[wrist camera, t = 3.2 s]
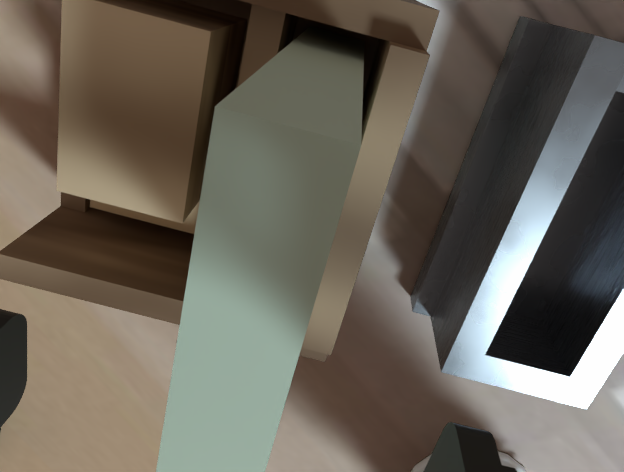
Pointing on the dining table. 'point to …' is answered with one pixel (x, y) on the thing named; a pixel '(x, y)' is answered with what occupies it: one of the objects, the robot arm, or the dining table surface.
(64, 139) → the offcut upper
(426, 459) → the decorative candle
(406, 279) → the dining table surface
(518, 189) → the stand
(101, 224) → the rack
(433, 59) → the dining table surface
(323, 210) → the panel
